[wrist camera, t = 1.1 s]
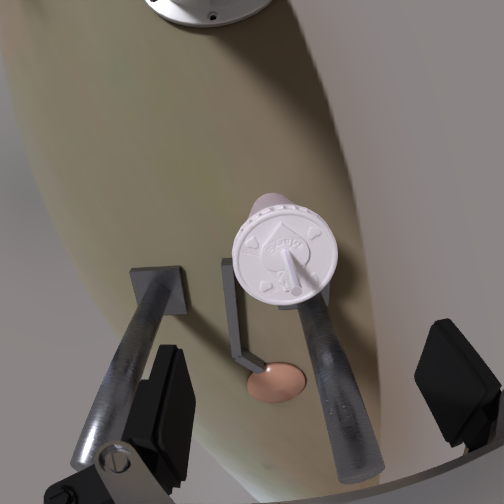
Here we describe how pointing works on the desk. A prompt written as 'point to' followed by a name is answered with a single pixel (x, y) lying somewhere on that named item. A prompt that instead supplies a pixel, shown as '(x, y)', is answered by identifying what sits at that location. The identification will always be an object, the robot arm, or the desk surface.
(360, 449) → the post
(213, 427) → the desk surface
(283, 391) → the coaster
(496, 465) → the robot arm
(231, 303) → the bent rail
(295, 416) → the desk surface
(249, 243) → the smoothie
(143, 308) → the post
